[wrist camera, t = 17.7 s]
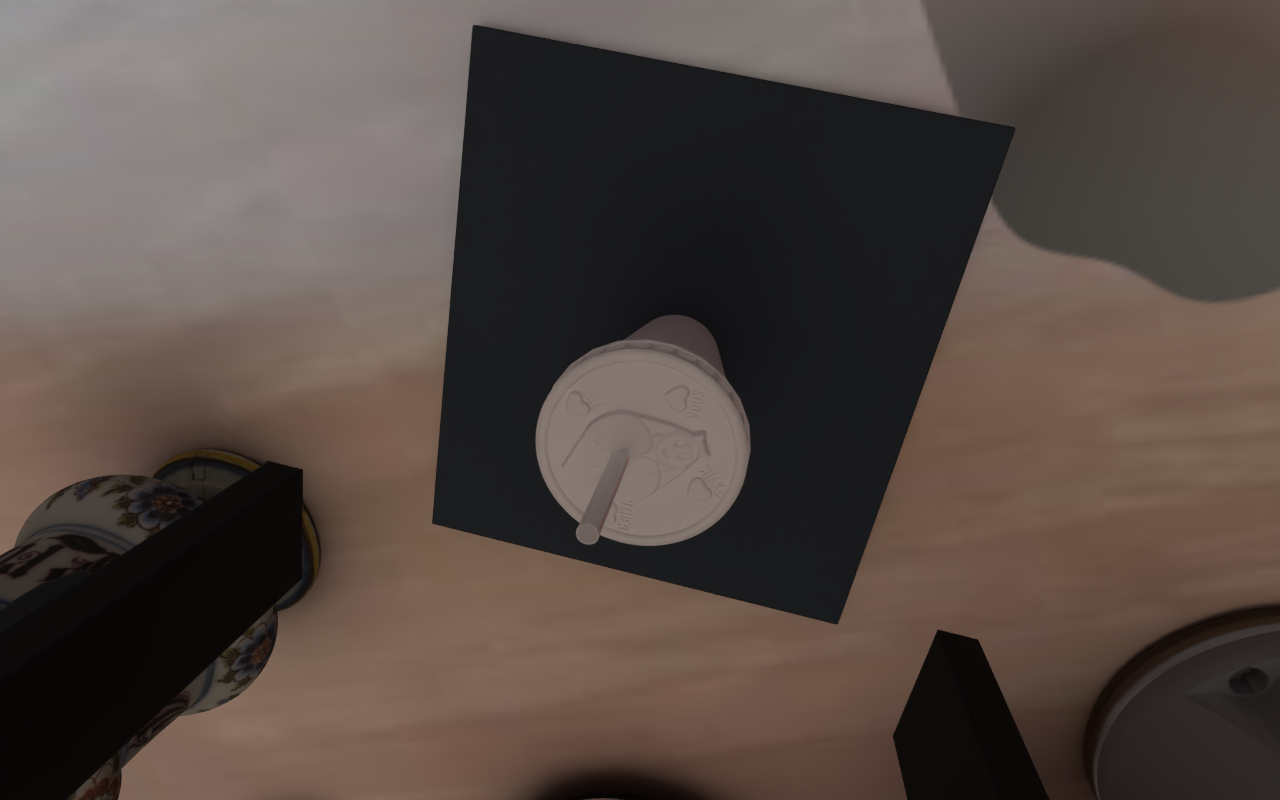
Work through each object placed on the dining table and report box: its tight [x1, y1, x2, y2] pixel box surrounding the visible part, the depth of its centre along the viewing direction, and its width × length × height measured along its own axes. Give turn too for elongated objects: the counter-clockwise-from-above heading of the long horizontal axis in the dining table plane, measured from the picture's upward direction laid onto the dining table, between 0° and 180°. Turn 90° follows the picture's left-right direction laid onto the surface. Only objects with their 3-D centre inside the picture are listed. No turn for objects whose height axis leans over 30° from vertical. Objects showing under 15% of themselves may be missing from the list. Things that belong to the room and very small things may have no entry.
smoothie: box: [536, 315, 751, 546], centre depth 23 cm, size 6×6×14 cm
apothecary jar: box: [0, 449, 320, 800], centre depth 29 cm, size 12×12×18 cm
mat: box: [432, 25, 1015, 624], centre depth 29 cm, size 20×22×1 cm
